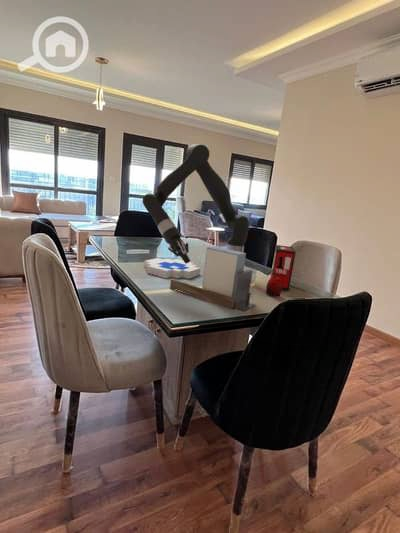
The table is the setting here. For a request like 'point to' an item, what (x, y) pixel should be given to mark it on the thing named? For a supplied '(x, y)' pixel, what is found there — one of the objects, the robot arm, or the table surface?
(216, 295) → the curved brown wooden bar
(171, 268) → the stepped white slab
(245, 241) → the robot arm
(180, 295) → the table surface
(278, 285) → the red clay folk toy
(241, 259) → the book
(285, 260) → the cleaning product box
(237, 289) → the bookend
